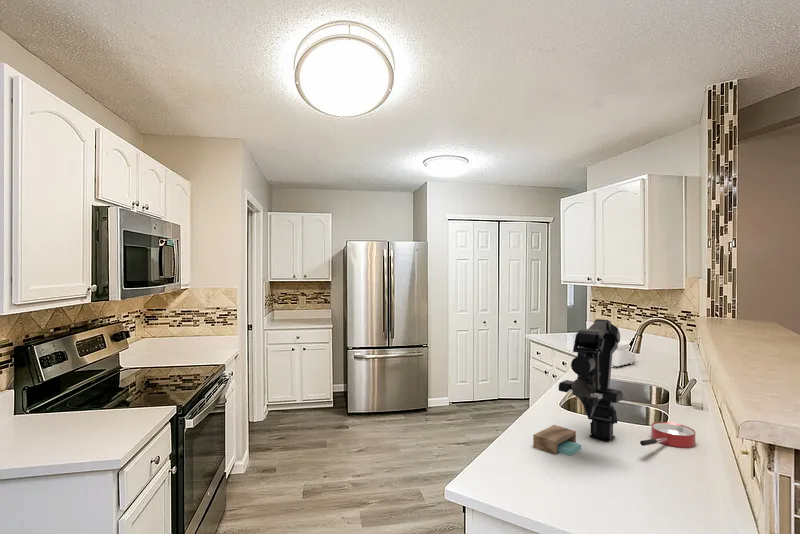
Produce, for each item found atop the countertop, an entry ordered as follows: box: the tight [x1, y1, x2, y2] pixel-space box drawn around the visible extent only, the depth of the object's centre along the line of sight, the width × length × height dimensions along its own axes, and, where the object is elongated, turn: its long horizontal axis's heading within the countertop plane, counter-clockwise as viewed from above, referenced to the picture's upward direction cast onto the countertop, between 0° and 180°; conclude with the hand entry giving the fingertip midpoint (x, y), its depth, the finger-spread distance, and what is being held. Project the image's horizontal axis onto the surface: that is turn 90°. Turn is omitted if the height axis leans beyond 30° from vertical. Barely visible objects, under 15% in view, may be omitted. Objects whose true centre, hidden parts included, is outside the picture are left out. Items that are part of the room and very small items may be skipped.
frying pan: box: [639, 421, 697, 449], centre depth 144 cm, size 32×13×6 cm, turn 135°
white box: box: [596, 338, 636, 368], centre depth 279 cm, size 34×29×15 cm
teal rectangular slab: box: [557, 440, 582, 456], centre depth 144 cm, size 10×8×2 cm
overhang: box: [532, 424, 577, 456], centre depth 146 cm, size 8×14×4 cm, turn 132°
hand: (589, 417), depth 139 cm, fingers closed
